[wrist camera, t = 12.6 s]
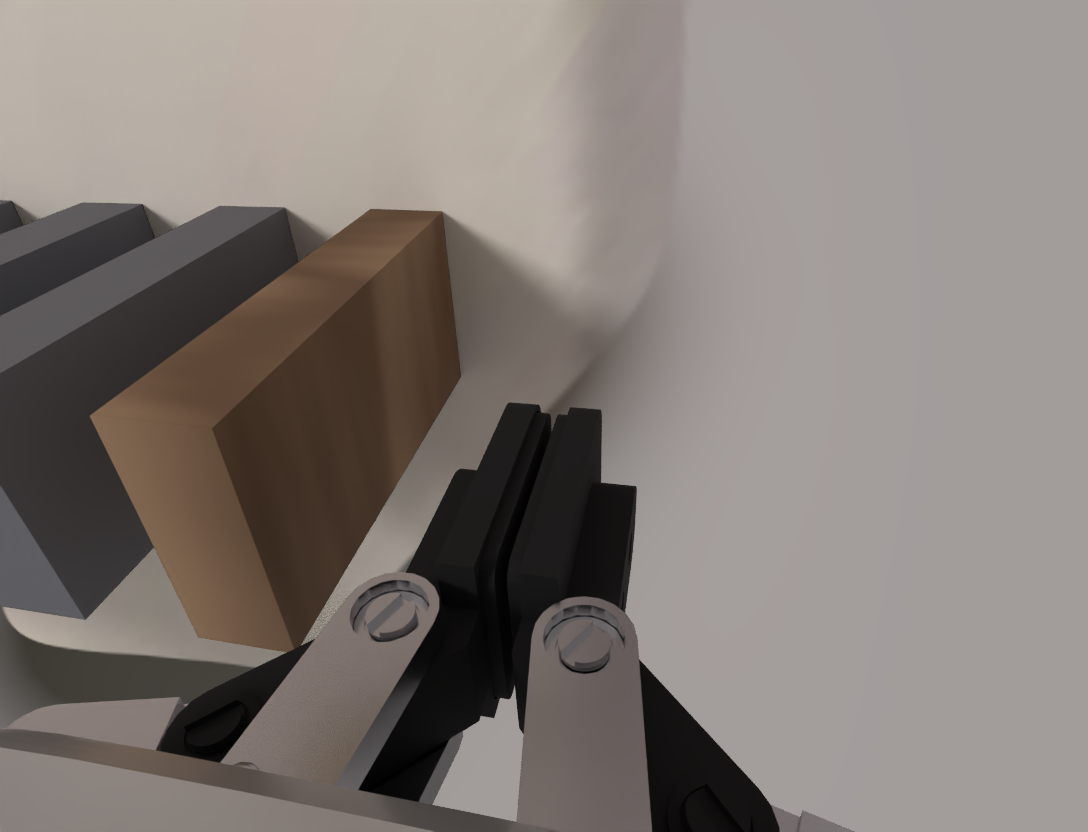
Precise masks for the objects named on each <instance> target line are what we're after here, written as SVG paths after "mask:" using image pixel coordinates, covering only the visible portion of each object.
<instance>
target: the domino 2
mask: <svg viewBox="0 0 1088 832" xmlns="http://www.w3.org/2000/svg"><path fill="white" fill-rule="evenodd" d="M297 263H298V259H297V255H296V251H295V247H294V243H293V239H292V236H291V232H290V228H289V224H288V220H287V216H286V212H285V208H278V207H238V206H219V207H217V208H215V209H213V210H211V211H209V212H207V213H205V214H203V215H201V216H199V217H197V218H195V219H193V220H191V221H189V222H187V223H185V224H183V225H181V226H179V227H177V228H175V229H173V230H171V231H169V232H167V233H165V234H163V235H161V236H159V237H157V238H155V239H153V240H151V241H149V242H147V243H145V244H143V245H141V246H139V247H137V248H135V249H133V250H131V251H129V252H127V253H125V254H123V255H121V256H119V257H117V258H115V259H113V260H111V261H109V262H107V263H105V264H103V265H101V266H99V267H97V268H95V269H93V270H91V271H89V272H87V273H85V274H83V275H81V276H79V277H77V278H75V279H73V280H71V281H69V282H67V283H65V284H63V285H61V286H59V287H57V288H55V289H53V290H51V291H49V292H47V293H45V294H43V295H41V296H39V297H37V298H35V299H33V300H31V301H29V302H27V303H25V304H23V305H21V306H19V307H17V308H15V309H13V310H11V311H9V312H7V313H5V314H3V315H1V316H0V606H3V607H10V608H16V609H22V610H28V611H34V612H41V613H47V614H53V615H59V616H66V617H72V618H78V619H84V620H86V619H87V617H88V616H89V615H90V614H91V613H92V612H93V611H94V610H95V609H96V608H97V607H98V606H99V605H100V604H101V603H102V602H103V601H104V599H105V598H106V597H107V596H108V595H109V594H110V593H111V592H112V591H113V590H114V589H115V588H116V587H117V586H118V585H119V584H120V583H121V581H122V580H123V579H124V578H125V577H126V576H127V575H128V574H129V573H130V572H131V571H132V570H133V569H134V568H135V567H136V566H137V565H138V564H139V562H140V561H141V560H142V559H143V558H144V557H145V556H146V555H147V554H148V553H149V552H150V551H151V550H152V549H153V548H154V546H153V544H152V542H151V540H150V538H149V536H148V534H147V532H146V530H145V528H144V526H143V524H142V522H141V519H140V517H139V515H138V513H137V511H136V509H135V507H134V505H133V503H132V501H131V499H130V497H129V495H128V493H127V491H126V489H125V487H124V485H123V483H122V481H121V479H120V477H119V475H118V473H117V471H116V469H115V467H114V465H113V462H112V460H111V458H110V456H109V454H108V452H107V450H106V448H105V446H104V444H103V442H102V440H101V438H100V436H99V434H98V432H97V430H96V428H95V426H94V424H93V422H92V420H91V418H90V415H91V414H93V413H94V412H95V411H97V410H98V409H100V408H101V407H102V406H104V405H105V404H106V403H108V402H109V401H110V400H112V399H113V398H114V397H116V396H117V395H119V394H120V393H121V392H123V391H124V390H125V389H127V388H128V387H129V386H131V385H132V384H134V383H135V382H136V381H138V380H139V379H140V378H142V377H143V376H144V375H146V374H147V373H148V372H150V371H151V370H153V369H154V368H155V367H157V366H158V365H159V364H161V363H162V362H163V361H165V360H166V359H168V358H169V357H170V356H172V355H173V354H174V353H176V352H177V351H178V350H180V349H181V348H183V347H184V346H185V345H187V344H188V343H189V342H191V341H192V340H193V339H195V338H196V337H197V336H199V335H200V334H202V333H203V332H204V331H206V330H207V329H208V328H210V327H211V326H212V325H214V324H215V323H217V322H218V321H219V320H221V319H222V318H223V317H225V316H226V315H227V314H229V313H230V312H231V311H233V310H234V309H236V308H237V307H238V306H240V305H241V304H242V303H244V302H245V301H246V300H248V299H249V298H251V297H252V296H253V295H255V294H256V293H257V292H259V291H260V290H261V289H263V288H264V287H266V286H267V285H268V284H270V283H271V282H272V281H274V280H275V279H276V278H278V277H279V276H280V275H282V274H283V273H285V272H286V271H287V270H289V269H290V268H291V267H293V266H294V265H295V264H297Z"/></svg>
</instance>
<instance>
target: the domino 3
mask: <svg viewBox="0 0 1088 832" xmlns="http://www.w3.org/2000/svg"><path fill="white" fill-rule="evenodd" d="M460 377H461V373H460V364H459V355H458V347H457V338H456V329H455V320H454V311H453V303H452V294H451V285H450V276H449V267H448V258H447V250H446V241H445V232H444V223H443V214H442V212H440V211H411V210H382V209H370V210H369V211H368V212H366V213H365V214H363V215H362V216H361V217H359V218H358V219H357V220H355V221H354V222H353V223H351V224H350V225H349V226H347V227H346V228H344V229H343V230H342V231H340V232H339V233H338V234H336V235H335V236H334V237H332V238H331V239H329V240H328V241H327V242H325V243H324V244H323V245H321V246H320V247H319V248H317V249H316V250H314V251H313V252H312V253H310V254H309V255H308V256H306V257H305V258H304V259H302V260H301V261H300V262H298V263H297V264H295V265H294V266H293V267H291V268H290V269H289V270H287V271H286V272H285V273H283V274H282V275H280V276H279V277H278V278H276V279H275V280H274V281H272V282H271V283H270V284H268V285H267V286H266V287H264V288H263V289H261V290H260V291H259V292H257V293H256V294H255V295H253V296H252V297H251V298H249V299H248V300H246V301H245V302H244V303H242V304H241V305H240V306H238V307H237V308H236V309H234V310H233V311H231V312H230V313H229V314H227V315H226V316H225V317H223V318H222V319H221V320H219V321H218V322H217V323H215V324H214V325H212V326H211V327H210V328H208V329H207V330H206V331H204V332H203V333H202V334H200V335H199V336H197V337H196V338H195V339H193V340H192V341H191V342H189V343H188V344H187V345H185V346H184V347H183V348H181V349H180V350H178V351H177V352H176V353H174V354H173V355H172V356H170V357H169V358H168V359H166V360H165V361H163V362H162V363H161V364H159V365H158V366H157V367H155V368H154V369H153V370H151V371H150V372H148V373H147V374H146V375H144V376H143V377H142V378H140V379H139V380H138V381H136V382H135V383H134V384H132V385H131V386H129V387H128V388H127V389H125V390H124V391H123V392H121V393H120V394H119V395H117V396H116V397H114V398H113V399H112V400H110V401H109V402H108V403H106V404H105V405H104V406H102V407H101V408H100V409H98V410H97V411H95V412H94V413H93V414H91V415H90V418H91V420H92V422H93V424H94V426H95V428H96V430H97V432H98V434H99V436H100V438H101V440H102V442H103V444H104V446H105V448H106V450H107V452H108V454H109V456H110V458H111V460H112V462H113V465H114V467H115V469H116V471H117V473H118V475H119V477H120V479H121V481H122V483H123V485H124V487H125V489H126V491H127V493H128V495H129V497H130V499H131V501H132V503H133V505H134V507H135V509H136V511H137V513H138V515H139V517H140V519H141V522H142V524H143V526H144V528H145V530H146V532H147V534H148V536H149V538H150V540H151V542H152V544H153V546H154V548H155V550H156V552H157V554H158V556H159V558H160V560H161V562H162V564H163V566H164V568H165V570H166V572H167V574H168V576H169V579H170V581H171V583H172V585H173V587H174V589H175V591H176V593H177V595H178V597H179V599H180V601H181V603H182V605H183V607H184V609H185V611H186V613H187V615H188V617H189V619H190V621H191V623H192V625H193V627H194V629H195V631H196V633H197V636H198V637H199V638H205V639H211V640H217V641H223V642H229V643H235V644H241V645H247V646H253V647H259V648H265V649H271V650H277V651H283V652H289V651H291V650H293V649H295V648H297V647H299V646H301V644H302V642H303V641H304V639H305V637H306V636H307V634H308V632H309V631H310V629H311V627H312V626H313V624H314V622H315V621H316V619H317V617H318V616H319V614H320V612H321V610H322V609H323V607H324V605H325V604H326V602H327V600H328V599H329V597H330V595H331V594H332V592H333V590H334V589H335V587H336V585H337V584H338V582H339V580H340V579H341V577H342V575H343V574H344V572H345V570H346V569H347V567H348V565H349V564H350V562H351V560H352V558H353V557H354V555H355V553H356V552H357V550H358V548H359V547H360V545H361V543H362V542H363V540H364V538H365V537H366V535H367V533H368V532H369V530H370V528H371V527H372V525H373V523H374V522H375V520H376V518H377V517H378V515H379V513H380V512H381V510H382V508H383V506H384V505H385V503H386V501H387V500H388V498H389V496H390V495H391V493H392V491H393V490H394V488H395V486H396V485H397V483H398V481H399V480H400V478H401V476H402V475H403V473H404V471H405V470H406V468H407V466H408V465H409V463H410V461H411V459H412V458H413V456H414V454H415V453H416V451H417V449H418V448H419V446H420V444H421V443H422V441H423V439H424V438H425V436H426V434H427V433H428V431H429V429H430V428H431V426H432V424H433V423H434V421H435V419H436V418H437V416H438V414H439V413H440V411H441V409H442V407H443V406H444V404H445V402H446V401H447V399H448V397H449V396H450V394H451V392H452V391H453V389H454V387H455V386H456V384H457V382H458V381H459V379H460Z"/></svg>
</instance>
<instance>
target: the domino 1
mask: <svg viewBox="0 0 1088 832" xmlns="http://www.w3.org/2000/svg"><path fill="white" fill-rule="evenodd" d="M153 239H155V238H154V235H153V233H152V230H151V227H150V225H149V222H148V219H147V216H146V214H145V211H144V208H143V206H142V204H117V203H80V204H78V205H75V206H73V207H70V208H67V209H65V210H62V211H60V212H57V213H54V214H52V215H49V216H47V217H44V218H42V219H39V220H36V221H34V222H31V223H29V224H26V225H24V226H21V227H18V228H16V229H13V230H11V231H8V232H5V233H3V234H0V316H1V315H3V314H5V313H7V312H9V311H11V310H13V309H15V308H17V307H19V306H21V305H23V304H25V303H27V302H29V301H31V300H33V299H35V298H37V297H39V296H41V295H43V294H45V293H47V292H49V291H51V290H53V289H55V288H57V287H59V286H61V285H63V284H65V283H67V282H69V281H71V280H73V279H75V278H77V277H79V276H81V275H83V274H85V273H87V272H89V271H91V270H93V269H95V268H97V267H99V266H101V265H103V264H105V263H107V262H109V261H111V260H113V259H115V258H117V257H119V256H121V255H123V254H125V253H127V252H129V251H131V250H133V249H135V248H137V247H139V246H141V245H143V244H145V243H147V242H149V241H151V240H153Z"/></svg>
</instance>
